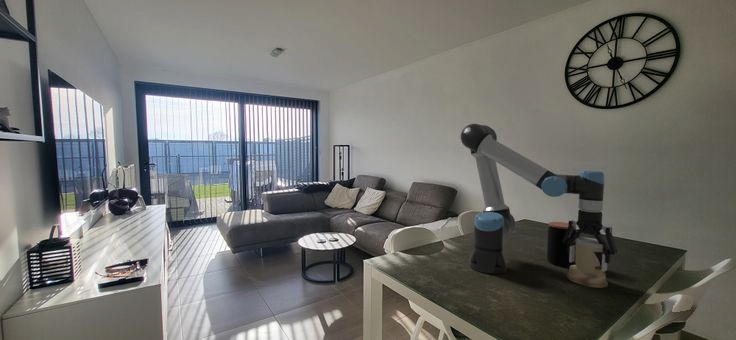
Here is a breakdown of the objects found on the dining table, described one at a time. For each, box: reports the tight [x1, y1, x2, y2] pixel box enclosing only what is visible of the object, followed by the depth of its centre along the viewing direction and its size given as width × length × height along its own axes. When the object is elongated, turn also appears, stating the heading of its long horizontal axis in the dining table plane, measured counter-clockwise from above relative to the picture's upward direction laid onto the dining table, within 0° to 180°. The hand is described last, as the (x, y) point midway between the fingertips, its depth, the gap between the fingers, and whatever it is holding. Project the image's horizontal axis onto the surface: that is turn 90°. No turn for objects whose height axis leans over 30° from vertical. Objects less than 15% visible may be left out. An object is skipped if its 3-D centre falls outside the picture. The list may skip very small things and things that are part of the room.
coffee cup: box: [575, 236, 604, 275], centre depth 114 cm, size 9×9×12 cm
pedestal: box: [566, 264, 609, 289], centre depth 115 cm, size 13×13×4 cm
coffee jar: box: [546, 221, 577, 268], centre depth 133 cm, size 11×11×18 cm
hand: (587, 265), depth 115 cm, fingers open, 10 cm apart
